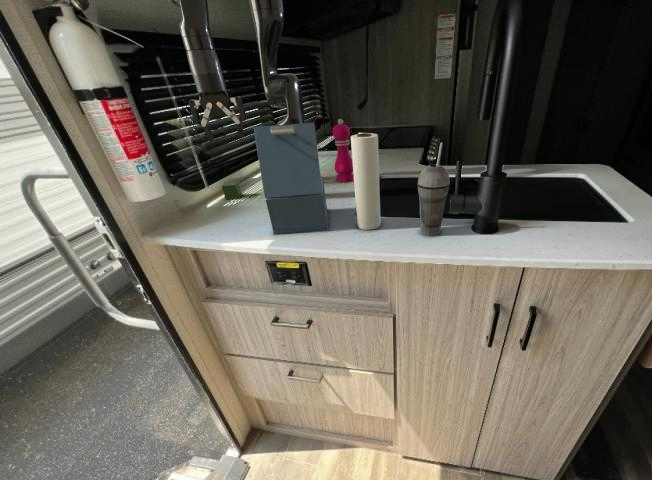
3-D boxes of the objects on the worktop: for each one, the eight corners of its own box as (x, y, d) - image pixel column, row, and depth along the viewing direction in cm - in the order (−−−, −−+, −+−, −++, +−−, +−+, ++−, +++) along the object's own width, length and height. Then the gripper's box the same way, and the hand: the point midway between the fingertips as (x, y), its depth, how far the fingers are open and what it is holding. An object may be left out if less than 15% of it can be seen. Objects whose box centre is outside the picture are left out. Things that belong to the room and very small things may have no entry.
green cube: (229, 195, 111) (224, 182, 108) (242, 194, 111) (238, 181, 108) (225, 199, 107) (221, 186, 104) (239, 198, 107) (235, 184, 105)
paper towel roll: (376, 231, 80) (372, 137, 67) (354, 229, 82) (346, 137, 69) (384, 220, 85) (383, 131, 72) (363, 218, 87) (358, 131, 74)
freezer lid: (254, 128, 73) (248, 120, 68) (314, 123, 74) (312, 115, 69) (265, 198, 76) (260, 196, 72) (322, 193, 77) (321, 190, 72)
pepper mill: (338, 177, 122) (332, 117, 110) (356, 177, 121) (352, 117, 109) (334, 183, 116) (327, 120, 104) (353, 182, 115) (348, 119, 103)
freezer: (280, 213, 94) (273, 182, 88) (327, 209, 94) (323, 178, 89) (273, 234, 82) (265, 200, 76) (327, 229, 82) (322, 195, 77)
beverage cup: (423, 224, 82) (428, 138, 70) (450, 229, 78) (459, 140, 66) (409, 234, 77) (412, 144, 65) (437, 241, 74) (445, 146, 62)
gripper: (237, 70, 88) (253, 135, 97) (184, 73, 87) (205, 139, 96) (231, 70, 82) (248, 139, 91) (174, 74, 81) (197, 143, 90)
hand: (226, 139), depth 94 cm, fingers open, 8 cm apart
